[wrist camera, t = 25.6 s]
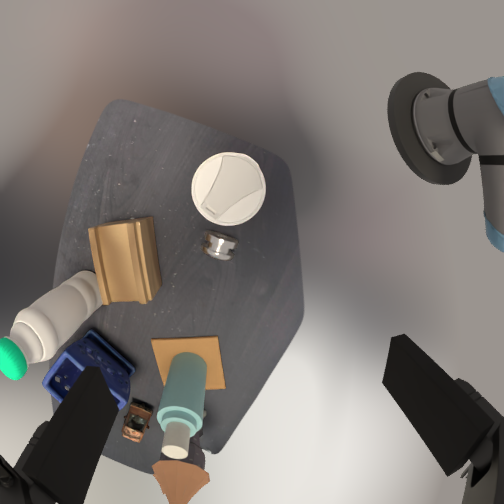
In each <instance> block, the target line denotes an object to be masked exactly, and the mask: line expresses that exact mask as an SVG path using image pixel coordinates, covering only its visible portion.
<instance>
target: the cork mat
mask: <svg viewBox="0 0 504 504" xmlns="http://www.w3.org/2000/svg"><path fill="white" fill-rule="evenodd" d="M151 343H152V346H153V350H154V354H155V357H156V361H157V364H158V368H159V371H160V374H161V377H162V381H163V384H164V387H165V383H166V379H167V376H168V372H169V369H170V365H171V362H172V359H173V358H174V357H175V356H176V355H177V354H179V353H183V352H190V353H194V354H197V355H199V356H200V357H201V358H202V359H203V360H204V361H205V363H206V365H207V374H206V385H205V390H208V389H225V388H226V386H225V380H224V374H223V367H222V361H221V355H220V348H219V341H218V336H206V337H188V338H158V339H151Z"/></svg>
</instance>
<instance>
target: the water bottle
mask: <svg viewBox="0 0 504 504" xmlns="http://www.w3.org/2000/svg"><path fill="white" fill-rule="evenodd" d="M102 304H103V303H102V299H101V295H100V290H99V286H98V281H97V277H96V274H95V273H93V272H91V271H80V272H78V273H77V274H75V275H74V276H73V277H71V278H70V279H68V280H66V281H64V282H63V283H62V284H61V285H60V286H59V287H57V288H55V289H53V290H51V291H50V292H48V293H46V294H45V295H43V296H42V297H40V298H39V299H38V300H36V301H35V302H34V303H33V304H32V305H30V307H28V308H25V309H23V310H22V311H20V312H19V313H18V315H17V316H16V319H15V321H14V324H13V327H12V329H11V332H10V337H8V336H5V337H4V338H1V339H0V370H1V371H2V372H3V373H4V374H5V375H6V376H7V377H9V378H11V379H12V380H19V379H20V378H22V377H23V376H24V374H25V373H26V371H27V369H28V368H29V363H37V362H40V361H46V360H49V359H50V358H52V357H53V356H54V355H55V353H56V352H57V349H58V348H60V347H61V346H62V345H63V344H64V343H65V342H66V341H67V340H68V339H69V338H70V337H71V336H72V335H73V334H74V333H75V332H76V330H77V329H78V328H79V327H80V326H81V324H82V323H83V322H84V321H85V320H87V319H88V318H89V317H90V316H91V315H92V313H93V312H94V311H95V310H97V309H98V308H99V307H100V306H101V305H102Z"/></svg>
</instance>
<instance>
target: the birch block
mask: <svg viewBox="0 0 504 504" xmlns="http://www.w3.org/2000/svg"><path fill="white" fill-rule="evenodd" d="M88 231H89V238H90V244H91V250H92V256H93V262H94V267H95V272H96V277H97V281H98V286H99V290H100V295H101V299H102V303H103V305H109V304H110V303H111V302H121V301H139V302H140V304H146V303H147V302H148V300H152V299H153V298H154V296H155V295H156V293H157V291H158V290H159V288H160V287H161V285H162V281H161V275H160V269H159V262H158V255H157V248H156V240H155V232H154V224H153V217H145V218H136V219H129V220H121V221H114V222H107V223H104V224H101V225H98V226H95V227H91V228H89V229H88Z"/></svg>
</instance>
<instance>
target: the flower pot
mask: <svg viewBox="0 0 504 504" xmlns="http://www.w3.org/2000/svg"><path fill="white" fill-rule="evenodd" d="M86 366H96V367H100V369H101V372H102V374H103V376H104V378H105V381H106V383H107V385H108V387H109V389H110V391H111V394H112V396H113V398H114V400H115V402H116V404H117V406H118V408H119V411H120V410H121V409H122V408H123V407H124V406H125V405H126V404H127V402H128V399H129V395H130V379H129V377H130V376H131V375H132V374H133V373H134V372H135V368H134V366H133V365H132V364H131V363H130V362H128V361H127V360H126V359H125V358H124V357H123V356H122V355H120V354H119V353H118V352H117V351H116V350H115V349H114V348H113V347H111V346H110V345H109V344H108V343H107V342H106V341H105V340H104V339H103V338H102V337H101V336H100V335H99V334H97V333H96V332H95V331H94V330H89V331H88V332H87V333H86V335H85V336H84V337H83V338H82V339H80V340H78V341H76V342H74V343H73V344H71V345H70V346H69V347H67V348H66V349H65V350H64V351H63V353H62V354H61V355H60V356H59V358H58V359H57V360H56V362H55V363H54V364H53V366H52V367H51V368H50V370H49V371H48V373H47V374H46V376H45V377H44V380H43V382H42V385H43V387H44V388H45V389H46V390H47V391H48V392H49V393H50V394H51V395H52V396H53V397H54V398H56V399H57V400H58V401H59V402H60V403H61V402H62V401H63V399H64V398H65V396H66V395H67V393H68V392H69V391H68V390H66V389H65V388H64V387H65V386H67V387H68V388H69V390H70V389H71V387H72V386H73V384H74V383H75V381H76V380H77V378H78V377H79V376H80V374H81V373H82V371H83V370H84V368H85V367H86ZM55 376H57V377H59V378H60V383H59V382H57V381H55ZM64 376H66V379H65V378H64ZM119 411H118V412H119Z"/></svg>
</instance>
